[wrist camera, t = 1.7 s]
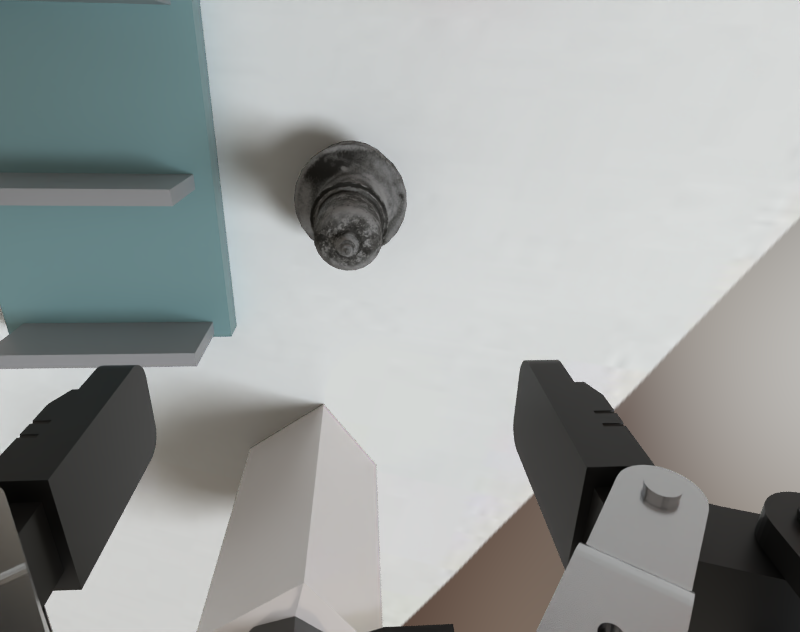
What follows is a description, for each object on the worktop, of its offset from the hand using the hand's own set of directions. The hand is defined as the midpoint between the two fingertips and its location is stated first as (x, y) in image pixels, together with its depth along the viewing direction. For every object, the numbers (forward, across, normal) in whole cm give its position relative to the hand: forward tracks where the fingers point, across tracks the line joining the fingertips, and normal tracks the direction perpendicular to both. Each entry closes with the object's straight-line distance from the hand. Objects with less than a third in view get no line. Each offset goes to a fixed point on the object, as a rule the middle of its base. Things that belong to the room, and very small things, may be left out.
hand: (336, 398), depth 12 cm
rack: (+22, +14, -5) cm, 27 cm away
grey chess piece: (+22, 0, 0) cm, 23 cm away
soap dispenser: (+23, +4, +20) cm, 30 cm away
